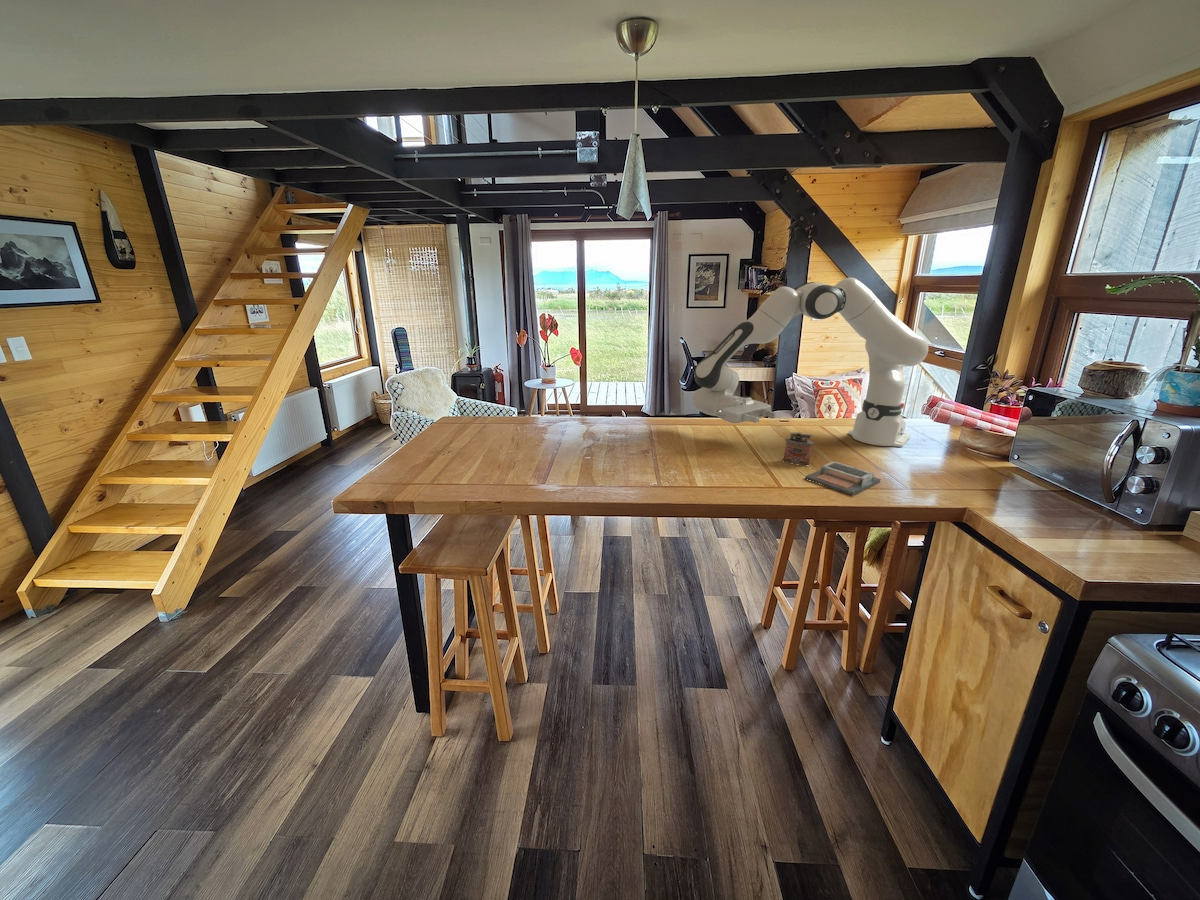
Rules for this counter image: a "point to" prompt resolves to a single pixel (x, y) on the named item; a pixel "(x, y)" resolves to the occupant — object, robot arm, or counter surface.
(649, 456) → the counter surface
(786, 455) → the lighter
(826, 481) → the plate
